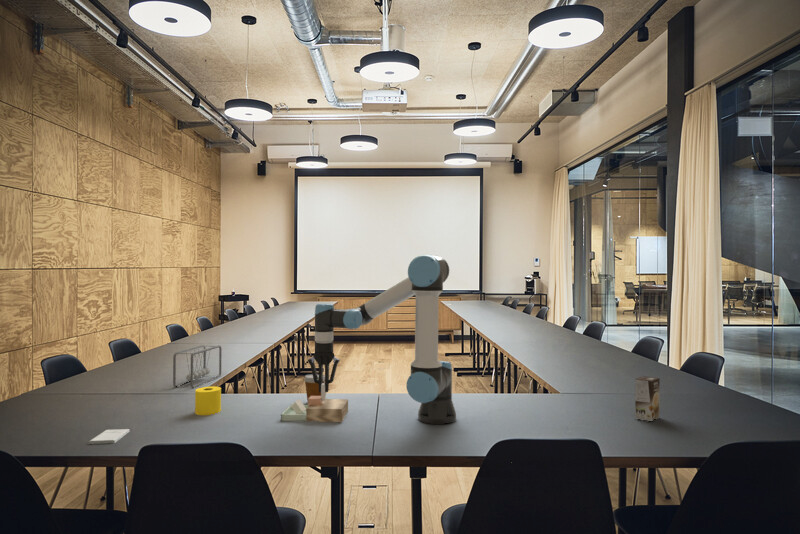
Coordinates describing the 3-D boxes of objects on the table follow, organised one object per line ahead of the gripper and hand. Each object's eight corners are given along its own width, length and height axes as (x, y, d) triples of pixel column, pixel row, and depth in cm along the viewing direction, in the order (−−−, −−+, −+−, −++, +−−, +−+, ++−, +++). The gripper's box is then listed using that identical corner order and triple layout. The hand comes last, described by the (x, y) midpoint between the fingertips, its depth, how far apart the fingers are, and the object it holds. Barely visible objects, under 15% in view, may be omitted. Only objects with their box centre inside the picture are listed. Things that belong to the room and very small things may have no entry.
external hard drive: (88, 445, 167) (105, 433, 179) (114, 444, 168) (129, 433, 180) (88, 440, 167) (105, 429, 179) (114, 439, 168) (129, 428, 180)
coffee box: (651, 422, 192) (651, 381, 192) (634, 419, 197) (634, 378, 197) (660, 417, 198) (659, 377, 199) (643, 414, 203) (643, 375, 203)
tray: (314, 410, 208) (314, 404, 208) (305, 421, 193) (305, 414, 193) (291, 410, 208) (291, 404, 208) (280, 420, 193) (280, 414, 193)
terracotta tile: (323, 402, 203) (323, 395, 203) (320, 405, 198) (320, 399, 198) (310, 401, 203) (311, 395, 203) (308, 405, 198) (308, 398, 198)
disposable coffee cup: (321, 406, 215) (321, 378, 215) (300, 405, 217) (300, 377, 217) (328, 400, 224) (328, 374, 224) (308, 399, 226) (308, 373, 226)
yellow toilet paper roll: (225, 411, 206) (225, 389, 206) (201, 416, 199) (202, 393, 199) (213, 407, 213) (214, 385, 213) (190, 412, 205) (191, 389, 206)
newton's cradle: (192, 389, 246) (192, 353, 246) (172, 388, 248) (172, 352, 248) (221, 376, 276) (221, 344, 276) (204, 376, 277) (204, 344, 278)
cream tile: (299, 399, 203) (294, 402, 203) (295, 402, 198) (290, 406, 198) (306, 408, 203) (301, 412, 203) (303, 412, 198) (298, 416, 198)
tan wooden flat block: (348, 411, 207) (348, 399, 207) (341, 422, 192) (341, 409, 192) (315, 410, 208) (315, 398, 208) (306, 421, 193) (306, 408, 193)
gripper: (341, 340, 204) (341, 398, 203) (310, 340, 204) (309, 397, 204) (338, 343, 196) (337, 402, 196) (305, 342, 197) (305, 402, 197)
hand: (323, 400), depth 200 cm, fingers closed
